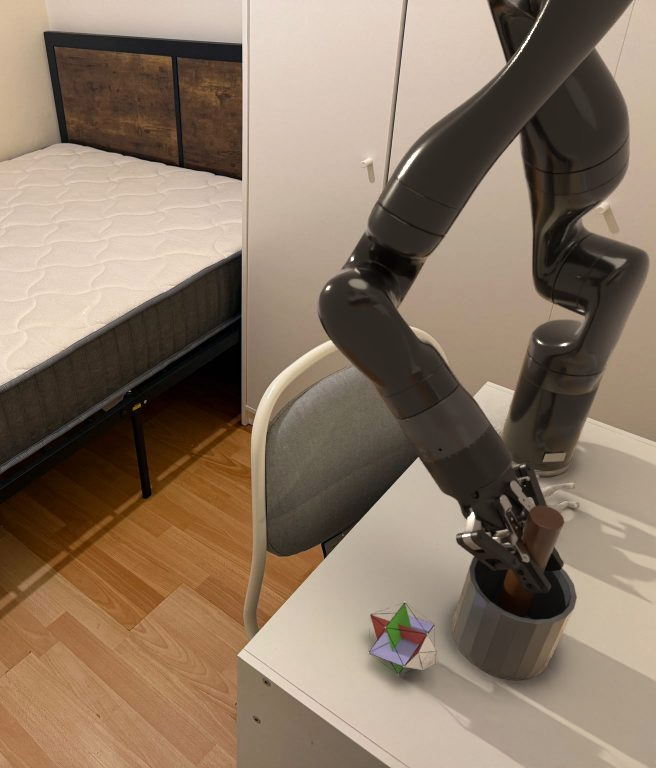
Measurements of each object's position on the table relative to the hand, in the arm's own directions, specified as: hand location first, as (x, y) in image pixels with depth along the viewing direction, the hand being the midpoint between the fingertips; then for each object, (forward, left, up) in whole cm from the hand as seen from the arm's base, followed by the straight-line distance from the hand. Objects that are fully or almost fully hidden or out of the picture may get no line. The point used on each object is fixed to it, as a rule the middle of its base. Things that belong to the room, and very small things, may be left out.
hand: (547, 579), depth 73 cm
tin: (0, -2, -12) cm, 12 cm away
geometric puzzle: (+7, -11, -12) cm, 18 cm away
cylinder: (0, -2, -6) cm, 7 cm away
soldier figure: (-21, -3, -12) cm, 25 cm away
